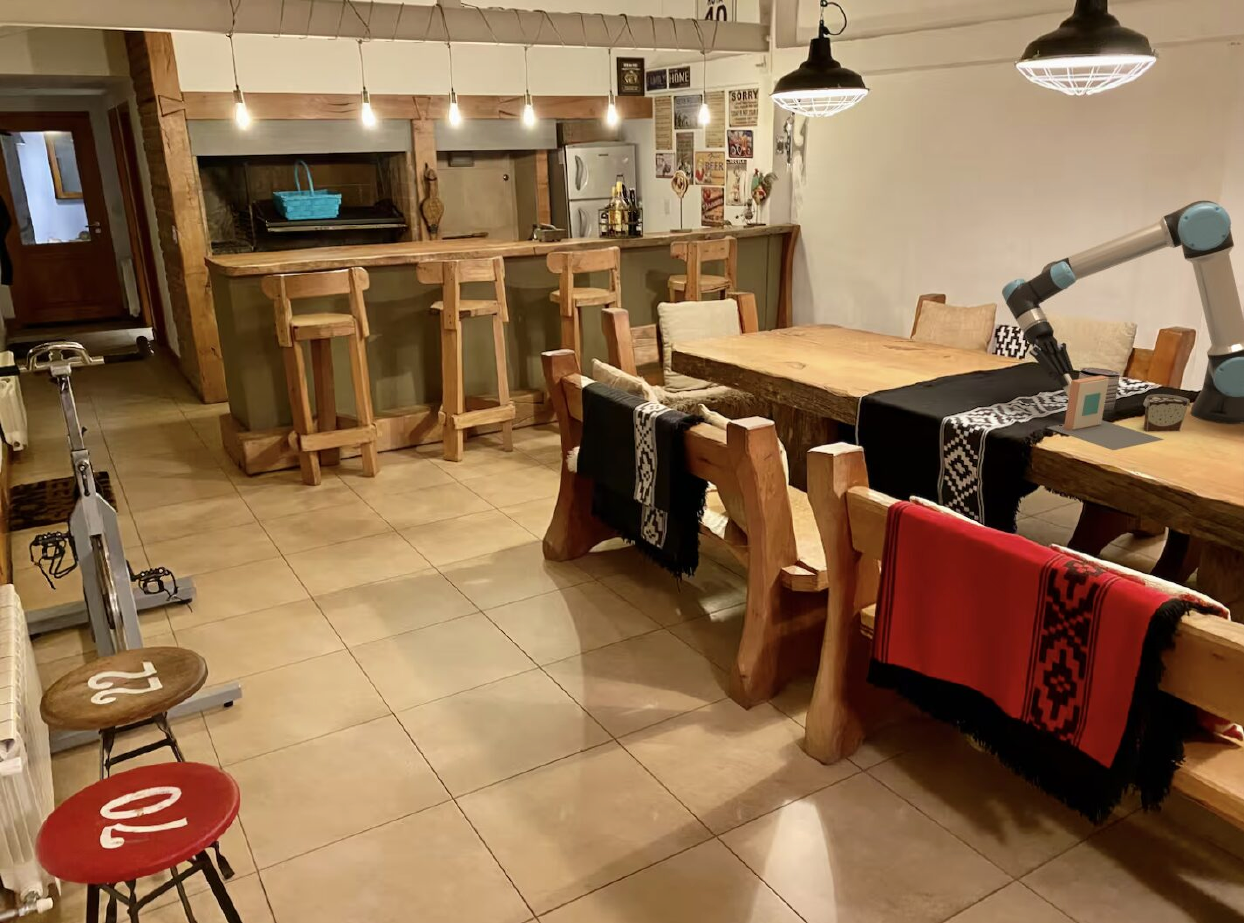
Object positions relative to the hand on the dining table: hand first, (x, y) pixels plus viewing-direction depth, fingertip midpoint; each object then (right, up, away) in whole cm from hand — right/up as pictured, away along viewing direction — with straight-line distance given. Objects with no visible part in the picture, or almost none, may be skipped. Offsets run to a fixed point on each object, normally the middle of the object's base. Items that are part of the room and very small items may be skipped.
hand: (1074, 395), depth 267 cm
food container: (+22, -10, -2) cm, 25 cm away
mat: (+5, -12, -6) cm, 14 cm away
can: (+16, -2, +20) cm, 26 cm away
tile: (+2, -9, -1) cm, 9 cm away
